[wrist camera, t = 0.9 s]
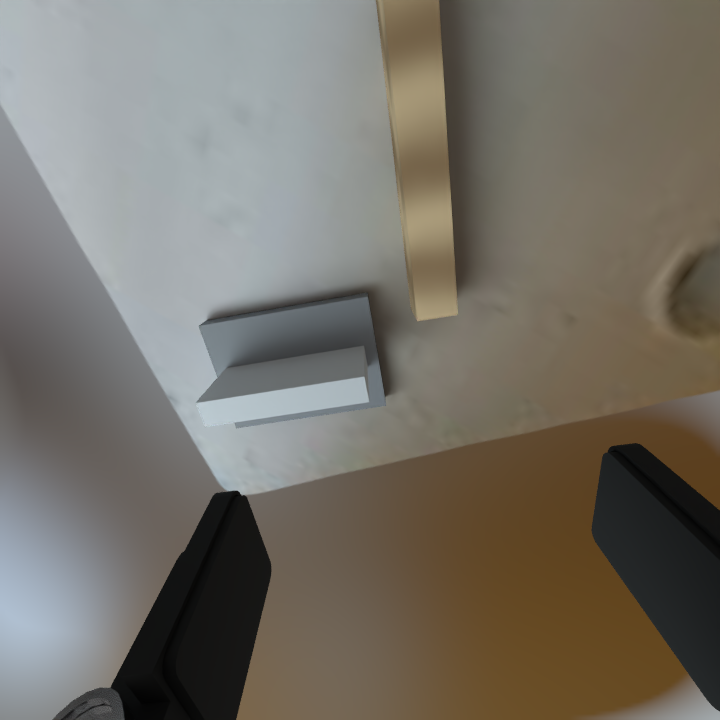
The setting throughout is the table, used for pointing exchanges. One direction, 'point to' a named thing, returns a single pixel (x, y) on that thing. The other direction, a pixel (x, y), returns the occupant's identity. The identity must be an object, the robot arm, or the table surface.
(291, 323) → the fulcrum
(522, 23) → the table surface
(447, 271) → the rod
